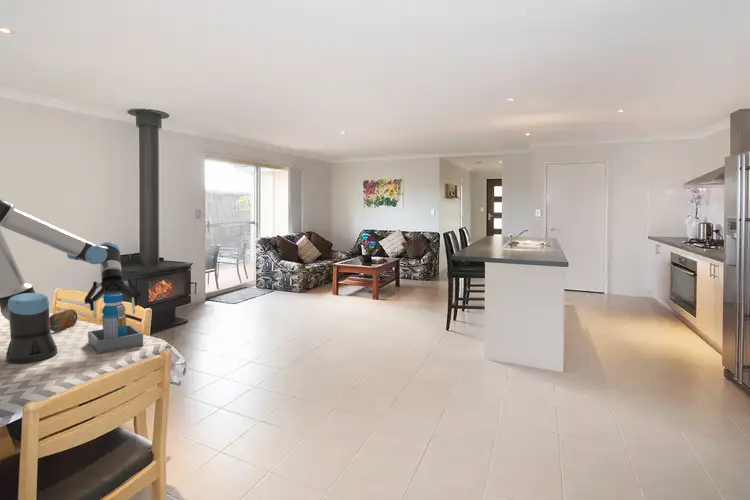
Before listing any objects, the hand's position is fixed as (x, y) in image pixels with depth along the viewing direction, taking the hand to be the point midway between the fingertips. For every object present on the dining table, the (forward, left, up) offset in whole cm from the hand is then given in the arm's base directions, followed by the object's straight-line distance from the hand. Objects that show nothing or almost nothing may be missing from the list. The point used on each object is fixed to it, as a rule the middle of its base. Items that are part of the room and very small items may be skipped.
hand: (115, 314), depth 173 cm
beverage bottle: (+1, +1, -12) cm, 12 cm away
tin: (+25, +37, -13) cm, 47 cm away
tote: (+1, +1, -13) cm, 13 cm away
